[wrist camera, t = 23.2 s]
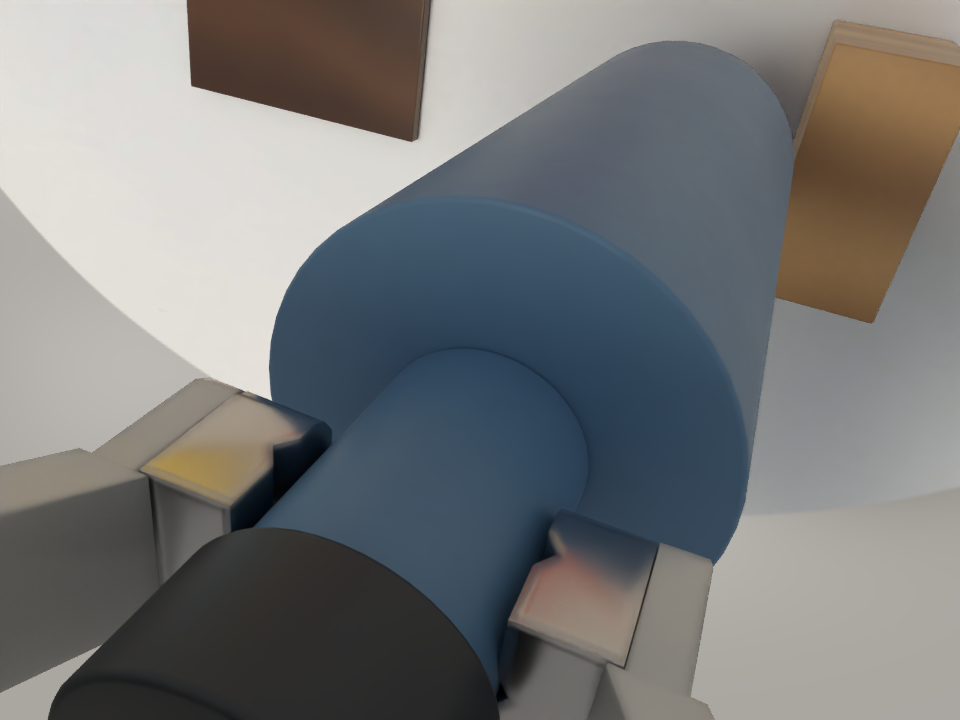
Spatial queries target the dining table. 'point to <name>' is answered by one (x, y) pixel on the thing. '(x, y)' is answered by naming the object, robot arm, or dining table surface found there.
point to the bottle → (488, 403)
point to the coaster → (316, 57)
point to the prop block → (866, 164)
